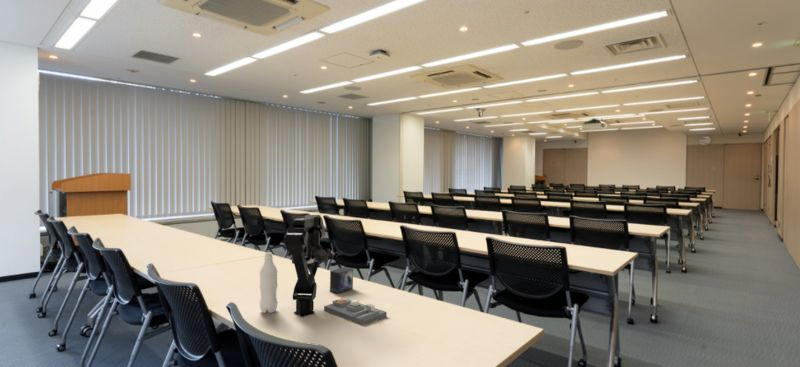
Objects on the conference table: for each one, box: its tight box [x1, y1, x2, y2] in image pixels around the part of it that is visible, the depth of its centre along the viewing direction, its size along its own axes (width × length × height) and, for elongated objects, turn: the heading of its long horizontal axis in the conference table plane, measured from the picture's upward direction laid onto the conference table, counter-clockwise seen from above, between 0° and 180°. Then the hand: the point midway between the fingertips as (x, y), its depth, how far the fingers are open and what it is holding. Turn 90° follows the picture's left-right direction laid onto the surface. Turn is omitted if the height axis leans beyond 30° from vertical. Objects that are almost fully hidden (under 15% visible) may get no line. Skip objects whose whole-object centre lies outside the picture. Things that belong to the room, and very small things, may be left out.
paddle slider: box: [365, 303, 376, 313], centre depth 163 cm, size 2×3×3 cm, turn 48°
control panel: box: [323, 297, 387, 326], centre depth 168 cm, size 13×24×4 cm, turn 48°
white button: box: [351, 299, 360, 307], centre depth 168 cm, size 3×3×2 cm
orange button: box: [336, 298, 345, 303], centre depth 174 cm, size 3×3×2 cm
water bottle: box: [259, 251, 278, 314], centre depth 170 cm, size 7×7×25 cm
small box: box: [329, 267, 354, 294], centre depth 201 cm, size 11×6×10 cm, turn 143°
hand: (313, 277), depth 180 cm, fingers closed
